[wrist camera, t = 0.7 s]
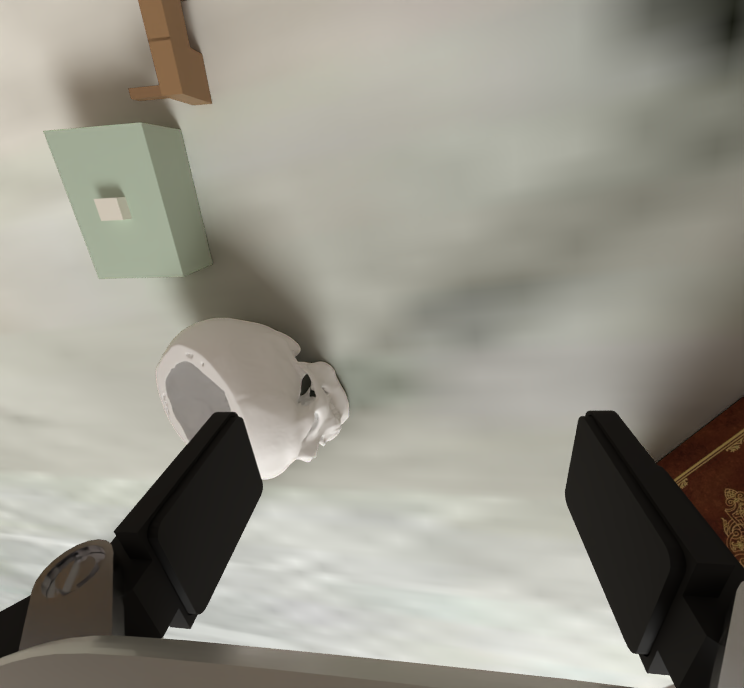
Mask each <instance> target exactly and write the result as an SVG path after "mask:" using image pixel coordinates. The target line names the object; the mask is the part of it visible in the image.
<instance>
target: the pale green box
mask: <svg viewBox="0 0 744 688" xmlns="http://www.w3.org/2000/svg"><path fill="white" fill-rule="evenodd" d="M43 132H44V134H45V137H46V140H47V142H48V145H49V148H50V150H51V153H52V156H53V158H54V161H55V164H56V166H57V169H58V172H59V174H60V177H61V180H62V182H63V185H64V188H65V190H66V193H67V195H68V198H69V201H70V203H71V206H72V209H73V211H74V214H75V217H76V219H77V222H78V225H79V227H80V230H81V233H82V235H83V238H84V241H85V243H86V246H87V249H88V251H89V254H90V257H91V259H92V262H93V264H94V267H95V270H96V272H97V275H98V278H99V279H116V278H154V277H184V276H186V275H189V274H191V273H193V272H196V271H198V270H200V269H202V268H205V267H207V266H209V265H212V264H213V262H212V258H211V254H210V250H209V246H208V242H207V237H206V233H205V229H204V225H203V221H202V216H201V212H200V208H199V204H198V200H197V196H196V191H195V187H194V183H193V179H192V175H191V170H190V166H189V162H188V158H187V154H186V150H185V145H184V141H183V137H182V133H181V130H180V129H174V128H169V127H164V126H158V125H153V124H147V123H142V122H139V123H128V124H116V125H105V126H94V127H83V128H71V129H60V130H49V131H43Z"/></svg>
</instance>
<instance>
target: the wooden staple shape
mask: <svg viewBox="0 0 744 688" xmlns="http://www.w3.org/2000/svg"><path fill="white" fill-rule="evenodd" d="M180 1H186V0H138V2H139V6H140V10H141V14H142V18H143V22H144V26H145V30H146V34H147V38H148V42H149V46H150V50H151V54H152V58H153V62H154V66H155V70H156V74H157V78H158V82H159V85H157V86H147V87H138V88H128V89H129V93H130V97H131V99H133V100H137V101H145V100H155V99H166V98H171V99H174V100H178V101H181V102H184V103H188V104H191V105H202V104H212V101H211V96H210V91H209V86H208V81H207V76H206V71H205V66H204V61H203V56H202V54H201V53H199V52H197V51H195V50H194V49H192V48H190V45H189V40H188V35H187V30H186V26H185V21H184V16H183V12H182V7H181V2H180Z"/></svg>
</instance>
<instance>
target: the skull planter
mask: <svg viewBox="0 0 744 688" xmlns="http://www.w3.org/2000/svg"><path fill="white" fill-rule="evenodd" d="M300 351H301V349H300V346H299V344H298V343H297V342H295V341H294V340H293V339H292V338H291V337H289V336H288V335H286V334H284V333H281V332H279V331H276V330H274V329H272V328H270V327H268V326H266V325H263V324H260V323H256V322H249V321H244V320H239V319H233V318H212V319H207V320H203V321H200V322H197V323H195V324H193V325H191V326H189V327H187V328H185V329H184V330H182V331H181V332H180V333H179V334H178V335H177V336H176V337H175V338H174V339H173V340H172V341H171V343H170V345H169V346H168V347H167V349H166V351H165V352H164V354H163V356H162V358H161V360H160V362H159V363H158V365H157V367H156V382H157V388H158V392H159V395H160V399H161V402H162V405H163V408H164V410H165V413H166V415H167V417H168V419H169V421H170V423H171V425H172V426H173V428H174V429H175V431H176V432H177V433H178V435H179V436H180V437H181V439H182V440H183V441H184V442H185V444H186V445H187V444H188V443H189V442H190V440H191V439H192V438H193V437H194V436H195V434H196V433H197V432H198V431H199V430H200V428H201V427H202V426H203V425H204V424H205V423H206V421H207V420H208V419H209V418H210V417H211V415H212V414H213V413H215V412H236V413H237V414H238V416H239V417H242V418H243V420H244V423H245V426H246V430H247V433H248V436H249V440H250V443H251V446H252V449H253V453H254V456H255V459H256V463H257V466H258V469H259V472H260V476H261V479H271V478H274V477H276V476H278V475H279V474H281V473H282V472H284V471H285V470H286V469H287V467H288V466H289V465H290V464H291V463H292V462H293V461H295V460H296V459H301V460H303V461H305V462H310V461H311V459H312V458H316V456H317V449H318V445H319V444H321V445H322V446H325V444H326V442H327V441H330V440H332V439H333V438H335V437H336V436H337V435H338V433H339V431H340V430H341V426H340V424H343V423H344V421H345V420H347V419H348V417H349V402H348V399H347V396H346V393H345V391H344V390H343V388H342V386H341V384H340V383H339V380H338V378H337V376H336V373H335V370H334V369H333V368H332V366H331V365H329V364H328V363H325V362H321V361H318V362H315V363H307V362H298V361H297V359H296V358H295V356H297V355H298V354H299V353H300ZM306 374H308V376H309V377H310V379H311V386H310V387H309V389H308V390H307V393H305V394H304V395H301V396H300V393H301V384H302V379H303V377H304V376H305V375H306ZM310 388H311V390H313V391H315V394H316V397H310Z"/></svg>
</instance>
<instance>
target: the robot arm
mask: <svg viewBox="0 0 744 688" xmlns="http://www.w3.org/2000/svg"><path fill="white" fill-rule="evenodd" d="M262 490H263V483H262V479H261V476H260V472H259V469H258V466H257V463H256V459H255V456H254V453H253V449H252V446H251V443H250V440H249V436H248V433H247V430H246V426H245V423H244V420H243V418H242V417H239V416H238V414H237V413H236V412H215V413H213V414H212V415H211V417H210V418H209V419H208V420H207V421H206V423H205V424H204V425H203V426H202V427H201V428H200V430H199V431H198V432H197V433H196V434H195V436H194V437H193V438H192V439H191V440H190V442H189V443H188V444H187V445H186V446H185V447H184V449H183V450H182V451H181V452H180V453H179V455H178V456H177V457H176V458H175V459H174V461H173V462H172V463H171V464H170V465H169V466H168V468H167V469H166V470H165V471H164V472H163V474H162V475H161V476H160V477H159V478H158V480H157V481H156V482H155V483H154V484H153V485H152V487H151V488H150V489H149V490H148V491H147V493H146V494H145V495H144V496H143V497H142V499H141V500H140V501H139V502H138V503H137V505H136V506H135V507H134V508H133V509H132V510H131V512H130V513H129V514H128V515H127V516H126V518H125V519H124V520H123V521H122V522H121V524H120V525H119V526H118V527H117V528H116V529H115V531H114V533H115V534H116V537H115V538H114V539H113V540H112V542H111V543H109V542H108V541H106V540H100V539H97V540H91V541H87V542H84V543H81V544H79V545H76V546H75V547H73V548H71V549H69V550H67V551H66V552H64V553H63V554H62V555H60V556H59V557H57V558H56V559H55V560H54V561H52V562H51V563H50V564H49V565H48V566H47V567H46V568H45V569H44V570H43V572H42V573H41V575H40V576H39V577H38V579H37V580H36V582H35V584H34V587H33V589H32V592H31V595H30V596H28V597H27V598H25V599H23V600H21V601H19V602H17V603H16V604H14V605H12V606H10V607H8V608H6V609H5V610H3V611H1V612H0V688H632V687H624V686H616V685H608V684H601V683H593V682H585V681H577V680H569V679H560V678H551V677H542V676H532V675H523V674H514V673H504V672H495V671H486V670H476V669H467V668H458V667H448V666H439V665H430V664H420V663H410V662H400V661H391V660H381V659H371V658H361V657H351V656H342V655H332V654H322V653H312V652H302V651H292V650H281V649H271V648H261V647H250V646H240V645H229V644H219V643H208V642H198V641H187V640H173V639H163V636H164V634H165V632H166V631H167V629H168V627H169V626H170V627H175V628H186V629H191V627H192V625H193V623H194V621H195V619H196V617H197V615H198V614H201V613H202V612H203V611H204V610H205V608H206V607H207V605H208V603H209V601H210V599H211V597H212V595H213V593H214V590H215V588H216V586H217V584H218V582H219V580H220V578H221V576H222V574H223V572H224V570H225V568H226V566H227V564H228V562H229V560H230V558H231V556H232V554H233V552H234V550H235V547H236V545H237V543H238V541H239V539H240V537H241V535H242V533H243V531H244V529H245V527H246V525H247V523H248V521H249V519H250V517H251V515H252V513H253V511H254V509H255V507H256V504H257V502H258V500H259V498H260V496H261V494H262ZM565 498H566V503H567V506H568V508H569V511H570V513H571V515H572V518H573V520H574V523H575V525H576V527H577V530H578V532H579V534H580V537H581V539H582V541H583V544H584V546H585V548H586V551H587V553H588V555H589V558H590V560H591V562H592V565H593V567H594V569H595V572H596V574H597V577H598V579H599V581H600V584H601V586H602V588H603V591H604V593H605V595H606V598H607V600H608V602H609V605H610V607H611V609H612V612H613V614H614V616H615V619H616V621H617V623H618V626H619V628H620V631H621V633H622V635H623V638H624V640H625V642H626V644H627V646H628V648H629V649H630V651H631V652H632V653H635V654H639V656H640V658H641V661H642V663H643V665H644V667H645V670H646V672H647V673H651V674H661V675H670V677H671V679H672V681H673V683H674V685H675V687H676V688H744V567H743V566H742V565H741V564H740V562H739V561H738V560H737V559H736V557H735V556H734V555H733V554H732V552H731V551H730V550H729V549H728V547H727V546H726V545H725V544H724V542H723V541H722V540H721V539H720V537H719V536H718V535H717V534H716V532H715V531H714V530H713V529H712V527H711V526H710V525H709V524H708V522H707V521H706V520H705V519H704V517H703V516H702V515H701V514H700V512H699V511H698V510H697V509H696V507H695V506H694V505H693V504H692V502H691V501H690V500H689V499H688V497H687V496H686V495H685V494H684V492H683V491H682V490H681V489H680V487H679V486H678V485H677V484H676V482H675V481H674V480H673V479H672V477H671V476H670V475H669V473H668V472H667V471H666V470H665V469H664V468H663V467H661V466H659V465H657V464H656V463H655V461H654V460H653V459H652V458H651V456H650V455H649V454H648V452H647V451H646V450H645V449H644V447H643V446H642V445H641V444H640V442H639V441H638V440H637V438H636V437H635V436H634V435H633V433H632V432H631V431H630V429H629V428H628V427H627V426H626V424H625V423H624V422H623V421H622V419H621V418H620V417H619V415H618V414H617V413H616V412H615V411H588V412H587V413H586V415H585V416H581V417H580V418H579V420H578V424H577V429H576V435H575V440H574V446H573V451H572V456H571V462H570V467H569V473H568V478H567V484H566V489H565Z"/></svg>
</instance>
